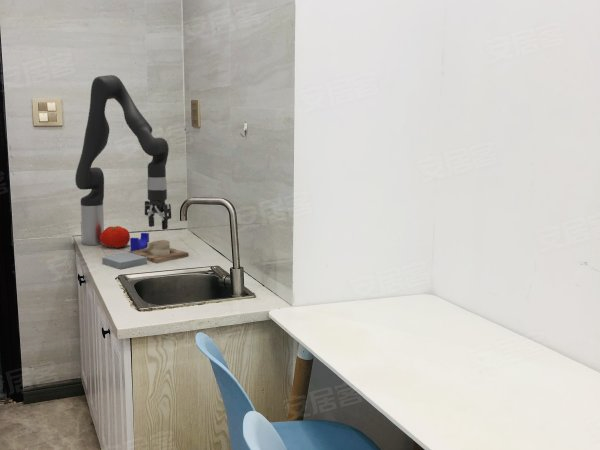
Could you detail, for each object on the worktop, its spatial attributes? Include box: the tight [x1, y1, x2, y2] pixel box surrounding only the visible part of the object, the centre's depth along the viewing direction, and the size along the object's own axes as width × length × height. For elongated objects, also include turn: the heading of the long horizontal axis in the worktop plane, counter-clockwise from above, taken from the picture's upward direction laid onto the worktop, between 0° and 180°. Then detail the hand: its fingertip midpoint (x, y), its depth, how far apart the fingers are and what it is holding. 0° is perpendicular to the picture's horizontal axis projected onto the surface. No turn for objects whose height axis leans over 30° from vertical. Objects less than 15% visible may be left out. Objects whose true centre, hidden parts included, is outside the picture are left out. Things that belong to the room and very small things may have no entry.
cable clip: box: [129, 232, 150, 251], centre depth 265 cm, size 12×4×6 cm, turn 170°
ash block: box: [147, 239, 171, 257], centre depth 254 cm, size 4×8×6 cm, turn 140°
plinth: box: [101, 251, 148, 270], centre depth 241 cm, size 12×12×2 cm
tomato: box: [100, 225, 131, 249], centre depth 267 cm, size 13×12×8 cm
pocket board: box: [129, 247, 189, 264], centre depth 254 cm, size 18×16×2 cm
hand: (158, 227), depth 252 cm, fingers open, 8 cm apart
